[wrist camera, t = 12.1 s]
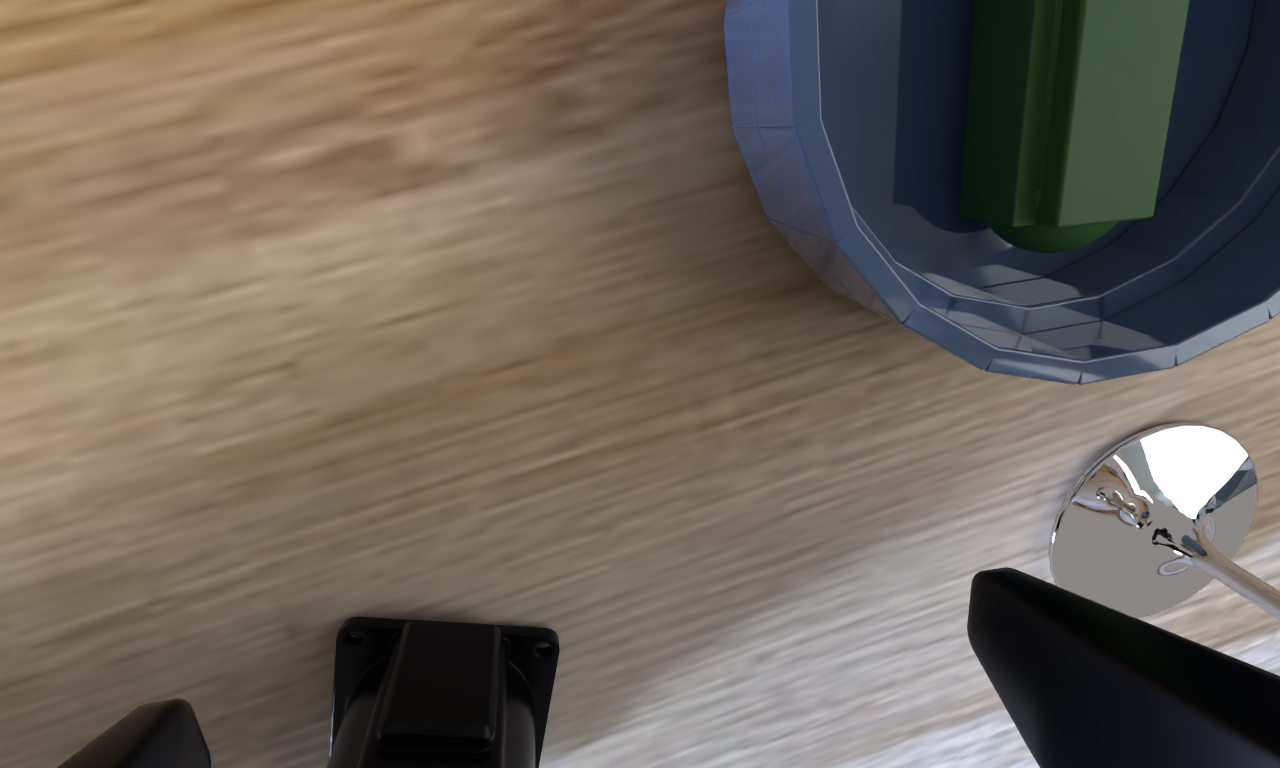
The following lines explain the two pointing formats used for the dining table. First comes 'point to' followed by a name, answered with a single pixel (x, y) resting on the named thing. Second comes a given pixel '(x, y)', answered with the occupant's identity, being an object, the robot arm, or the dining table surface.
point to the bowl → (969, 249)
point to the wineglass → (1160, 522)
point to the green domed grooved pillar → (1068, 116)
